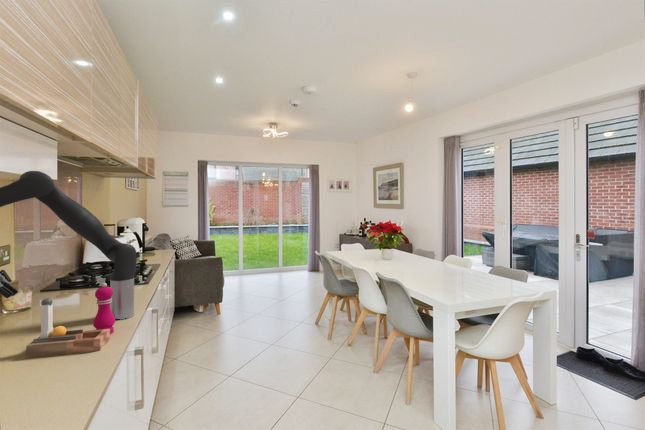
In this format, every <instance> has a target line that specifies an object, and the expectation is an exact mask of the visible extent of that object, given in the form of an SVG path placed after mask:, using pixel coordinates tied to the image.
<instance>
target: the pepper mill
mask: <svg viewBox="0 0 645 430" xmlns="http://www.w3.org/2000/svg"><path fill="white" fill-rule="evenodd" d="M112 295H113V289H112V288H110V286H108V284H107V283H106V282H103V283H101V287H98V288H97V289H96V290H95V292H94V296H95V298H96V305H97V313H96V315H95V317H94V318H93V321H92V326H93V327H94V329H95V330H100V329H110V335H112V334H113V333H114V332H115V328H114V325H115V323H116V320H115V317H114V315H113V313H112V312H111V309H110V304H111V302H112V301H111V300H112V298H111V297H112ZM111 333H112V334H111Z"/></svg>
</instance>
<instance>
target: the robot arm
mask: <svg viewBox="0 0 645 430" xmlns="http://www.w3.org/2000/svg"><path fill="white" fill-rule="evenodd" d="M30 199H37V200H38V201H39V202H41V203H42V204H43V205H45V206H47V208H49V209H50V210H51V211H52V212H53V213H54V214H55V215H56V216H57V217H58V219H60V221H62V222H63V223H64V224H65V225H66V226H67V227H68V228H69V229H71V230H72V231H74V232H75V233H76V234H77V235H79V236H80V237H82V238H83V239H84V240H86V241H87V242H89V243H90V244H91V245H94V246H95V247H96V248H97V249H98V250H99V251H100V252H101V253H102V254H104V256H105V257H106V258H107V260H109V261H110V262H112V263H114V266H113V267H114V268H113V272H111V273H110V276H109V281H110V283H109V284H110V286H109V287H110V288H112V289H113V295H112V297H111V298H112V300H111V301H112V302H111V304H110V309H111V312H112V313H113V315H114V317H115V319H120V320H126V319H130V318H132V317H134V316H135V274H136V272H137V261H138V260H137V254H138V253H137V250H136V248H135V246H133V245H132V244H128V243H123V242H121V241H119V240H117V239H116V238H115V237H114V236H112V235H111V234H109V232H108V231H107V230H106V228H105V226H104V225H103V223H102V222H101V220H99V218H97V216H95V215H94V213H92V212H91V211H90V210H88V209H87V208H86V207H84V206H83V205H81V204H80V203H79V202H77V201H76V200H74V199H72V198H70V197H69V196H68V195H67V194H66V193H64V192H63V191H62V190H61V189H60V188H59V187H58V186H57V185H56V184H55V183H54V179H52V177H51V176H49V175H48V174H46V173H45V172H42V171H40V170H29V171H25V172H24V173H22V174H21V175H20V177H19V179H18V180H16V181H14V182H11V183H9V184H7V185H4V186H1V187H0V208H2V207H5V206H7V205H8V206H9V205H11V204H15V203H17V202H21V201H25V200H30ZM12 282H13V281H12V279H11V277H10V276H9V274H8V273H7V272H6V270H5V269H1V270H0V295H1V296H3V297H4V298H5V299H9V298H11V297H14V296H15V295H17V294H18V293H19V290H18V289H17V288H15V287H14V286H13V285H12V284H11V283H12ZM125 318H126V319H125Z"/></svg>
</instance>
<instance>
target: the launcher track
mask: <svg viewBox="0 0 645 430" xmlns="http://www.w3.org/2000/svg"><path fill="white" fill-rule="evenodd" d="M109 339H110V340H111V334H110V329H100V330H96V329H91V330H84V329H82V328H81V329H73V330H71V329H70V330H66V334H65V335H64V336H62V337H51V338H40V336H38V337H37V338H34V339H33V340H32V341H31V342H30V343H28V344H27V345H26V346H25V347H26V349H25V350H26V354H25V355H26V359H29V358H30V359H31V358H38V357H49V356H59V355H68V354H77V353H78V354H79V353H87V352H88V353H89V352H97V351H102V349H103V348H104V347H105V346H106V344H107V343H108V342H109V341H110V340H109ZM104 345H105V346H104Z"/></svg>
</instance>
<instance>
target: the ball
mask: <svg viewBox="0 0 645 430" xmlns="http://www.w3.org/2000/svg"><path fill="white" fill-rule="evenodd" d="M66 331H67V328H66V327H65V326H64V325H58V326H56V327H54V329H53V331H52V336H53V337H62V336H64V335H65V334H66Z"/></svg>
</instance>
